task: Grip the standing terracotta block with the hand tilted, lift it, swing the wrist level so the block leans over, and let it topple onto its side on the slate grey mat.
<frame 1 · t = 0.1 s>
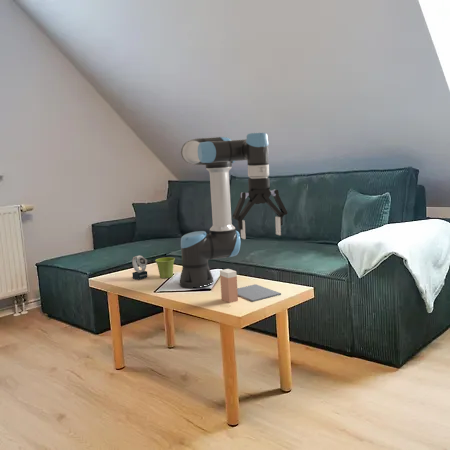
hand: (261, 236, 180), 28 cm above the table, tool pointing down, fingers open, 13 cm apart
watch: (140, 278, 243), on the table
plant pot: (166, 277, 243), on the table
slate mat: (254, 293, 207), on the table
block: (229, 300, 200), on the table
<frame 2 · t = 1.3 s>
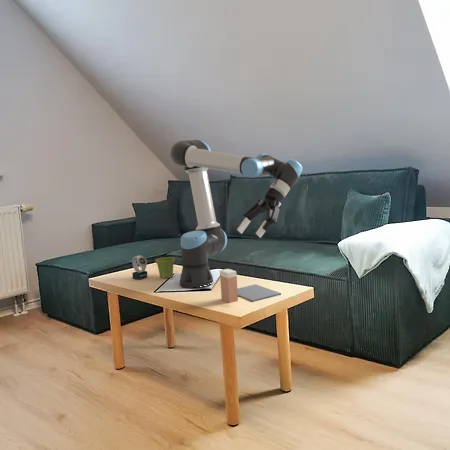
hand: (248, 233, 201), 25 cm above the table, tool tilted 45°, fingers open, 13 cm apart
nothing on the table moved.
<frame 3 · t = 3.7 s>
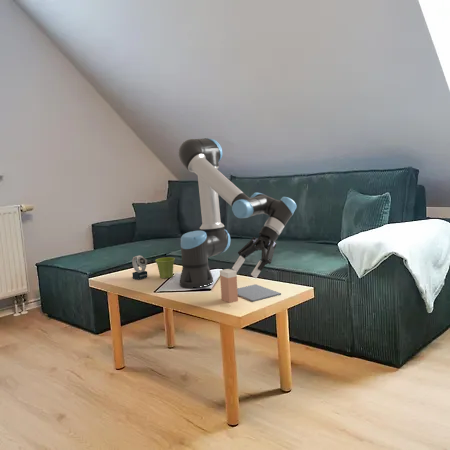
hand: (243, 273, 200), 10 cm above the table, tool tilted 45°, fingers open, 13 cm apart
nothing on the table moved.
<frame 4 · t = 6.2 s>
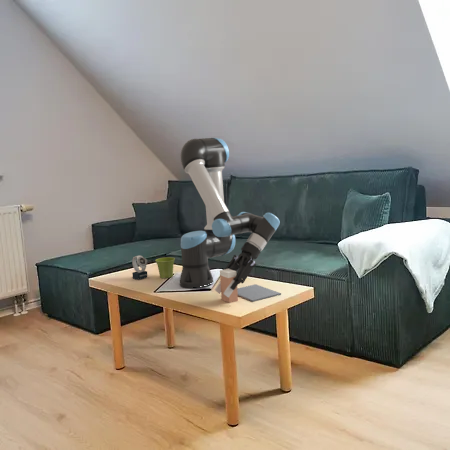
hand: (221, 293, 198), 3 cm above the table, tool tilted 45°, fingers closed on block, 6 cm apart
block: (229, 300, 200), on the table, touching gripper
everything else where it was.
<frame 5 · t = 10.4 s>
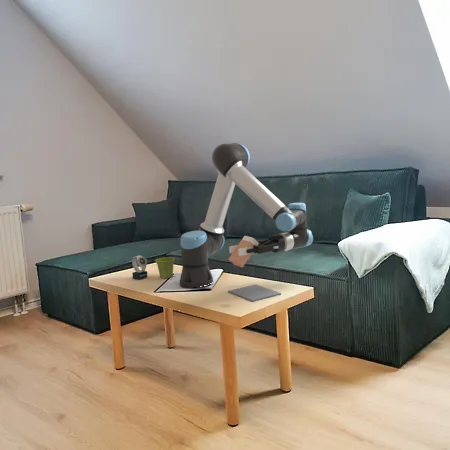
hand: (234, 251, 200), 19 cm above the table, tool horizontal, fingers closed on block, 6 cm apart
block: (235, 263, 201), point 14 cm above the table, tilted 45°, touching gripper
everything else where it was.
when the fingers open (10 cm above the table, at t = 13.2 s): block drops 2 cm and tips over, resting on slate mat.
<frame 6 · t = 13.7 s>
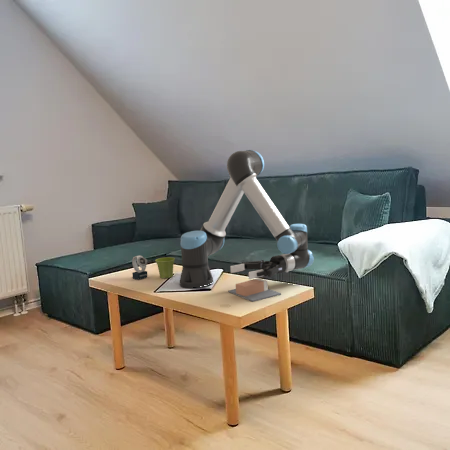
hand: (239, 272, 202), 10 cm above the table, tool horizontal, fingers open, 13 cm apart
block: (240, 290, 204), point 3 cm above the table, tilted 90°, touching slate mat
everything else where it was.
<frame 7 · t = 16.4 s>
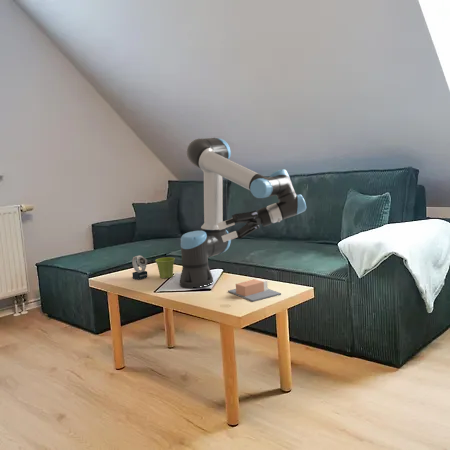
hand: (220, 233, 204), 26 cm above the table, tool tilted 75°, fingers open, 13 cm apart
nothing on the table moved.
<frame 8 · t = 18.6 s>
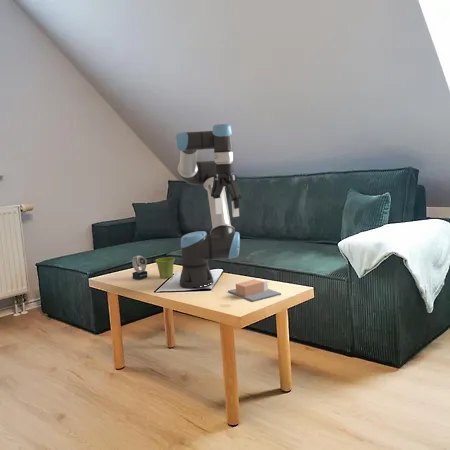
hand: (226, 215, 206), 33 cm above the table, tool pointing down, fingers open, 13 cm apart
nothing on the table moved.
at the end: block tilted 90°; block inside the target area on the slate mat (5.6 cm from its centre), point 2.6 cm above the slate mat's base; the gripper is holding nothing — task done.
